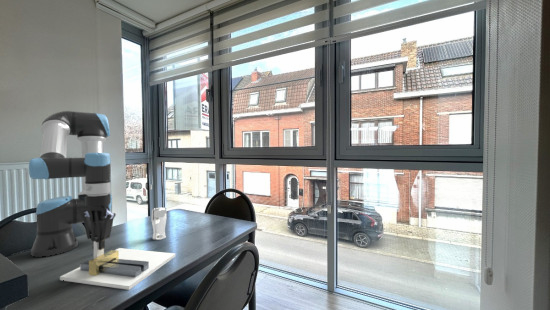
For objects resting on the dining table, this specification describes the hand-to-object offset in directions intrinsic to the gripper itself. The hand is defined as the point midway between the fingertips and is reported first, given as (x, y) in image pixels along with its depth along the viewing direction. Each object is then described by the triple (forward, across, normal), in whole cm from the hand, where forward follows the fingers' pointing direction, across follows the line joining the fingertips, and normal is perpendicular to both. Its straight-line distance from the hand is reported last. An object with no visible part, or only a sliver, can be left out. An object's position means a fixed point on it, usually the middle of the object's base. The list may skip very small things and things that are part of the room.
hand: (98, 257), depth 85 cm
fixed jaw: (+4, +6, -1) cm, 7 cm away
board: (+5, +6, +5) cm, 9 cm away
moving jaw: (+4, +10, +2) cm, 11 cm away
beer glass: (+5, -1, +34) cm, 34 cm away
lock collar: (+4, +2, 0) cm, 4 cm away
